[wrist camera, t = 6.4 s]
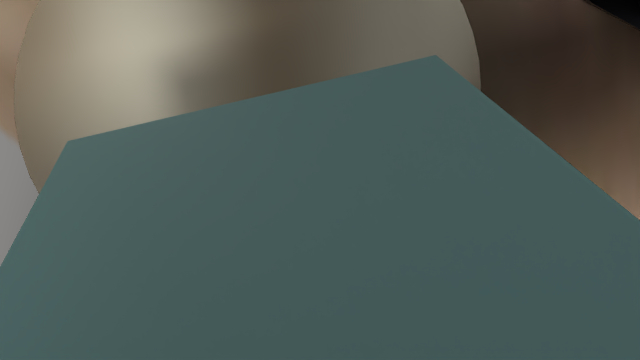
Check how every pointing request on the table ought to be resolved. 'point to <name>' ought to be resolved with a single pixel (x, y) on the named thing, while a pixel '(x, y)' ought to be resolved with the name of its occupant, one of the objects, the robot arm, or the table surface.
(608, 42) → the table surface
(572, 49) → the table surface
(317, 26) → the birch riser
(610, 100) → the table surface
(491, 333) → the teal block
